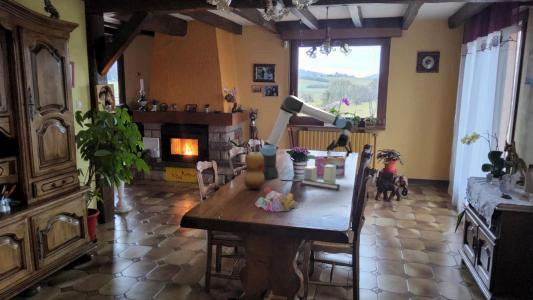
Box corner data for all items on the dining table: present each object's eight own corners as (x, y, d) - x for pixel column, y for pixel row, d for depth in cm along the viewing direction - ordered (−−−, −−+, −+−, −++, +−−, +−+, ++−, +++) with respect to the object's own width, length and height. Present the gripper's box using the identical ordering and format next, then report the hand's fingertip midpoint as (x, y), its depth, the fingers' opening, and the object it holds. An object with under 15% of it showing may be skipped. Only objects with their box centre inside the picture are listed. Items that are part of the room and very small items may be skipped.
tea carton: (327, 180, 279) (328, 164, 277) (335, 181, 276) (336, 165, 274) (323, 182, 272) (324, 166, 270) (331, 183, 269) (331, 167, 267)
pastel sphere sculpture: (301, 202, 225) (302, 187, 223) (290, 214, 203) (290, 198, 201) (262, 198, 233) (262, 183, 232) (247, 209, 211) (248, 193, 210)
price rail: (300, 184, 264) (300, 179, 263) (302, 184, 266) (302, 178, 265) (338, 191, 249) (338, 185, 249) (339, 190, 251) (339, 184, 251)
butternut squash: (254, 192, 243) (254, 154, 239) (240, 188, 252) (240, 152, 248) (268, 188, 253) (269, 152, 249) (254, 185, 262) (255, 149, 258)
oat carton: (308, 181, 273) (309, 165, 271) (316, 183, 270) (316, 166, 268) (303, 184, 266) (304, 167, 264) (311, 185, 263) (312, 168, 261)
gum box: (343, 172, 305) (343, 155, 303) (346, 174, 297) (347, 157, 295) (314, 172, 302) (315, 156, 299) (317, 175, 294) (317, 158, 292)
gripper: (360, 141, 286) (353, 163, 276) (330, 138, 299) (322, 159, 289) (358, 134, 281) (351, 157, 271) (327, 132, 294) (319, 154, 284)
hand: (336, 158), depth 280 cm, fingers open, 13 cm apart
